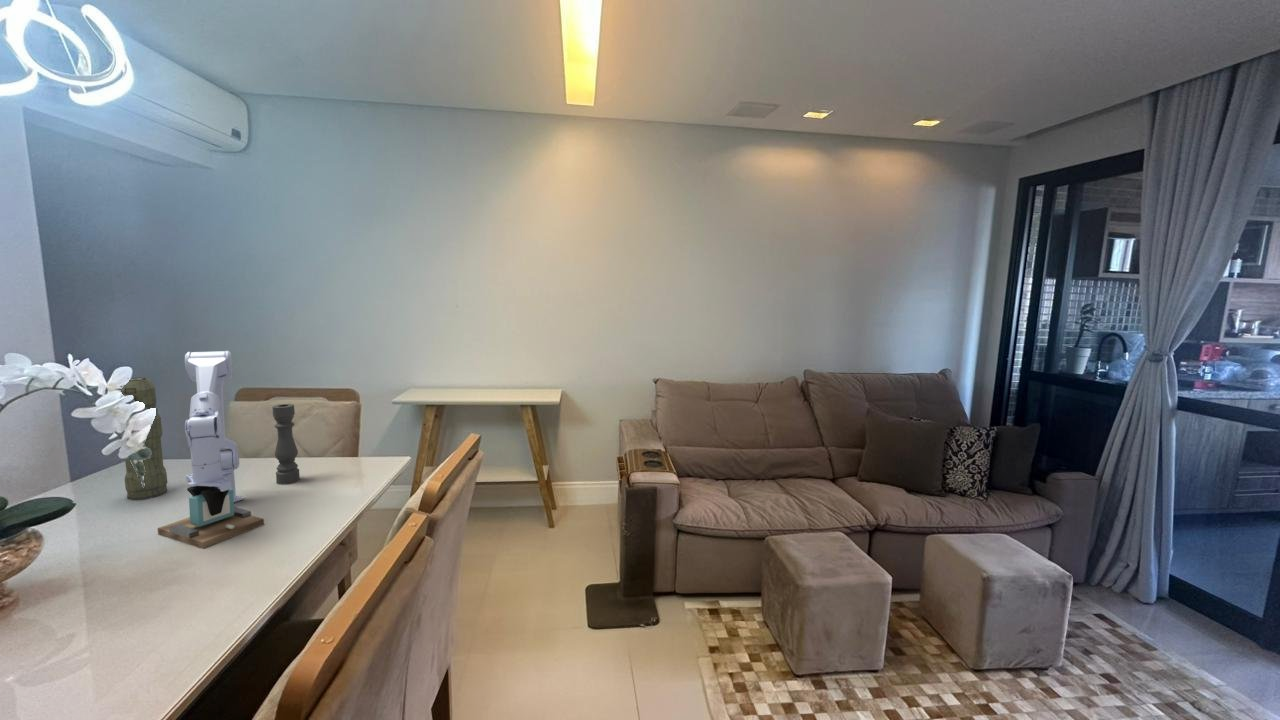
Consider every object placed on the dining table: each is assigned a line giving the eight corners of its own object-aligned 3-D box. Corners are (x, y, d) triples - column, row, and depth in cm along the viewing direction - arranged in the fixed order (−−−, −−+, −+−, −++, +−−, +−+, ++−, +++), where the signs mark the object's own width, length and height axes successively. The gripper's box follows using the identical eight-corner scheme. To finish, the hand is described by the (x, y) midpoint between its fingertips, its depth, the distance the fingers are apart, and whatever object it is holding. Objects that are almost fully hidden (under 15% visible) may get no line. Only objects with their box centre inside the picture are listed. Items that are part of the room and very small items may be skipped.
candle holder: (303, 480, 165) (298, 405, 162) (281, 485, 160) (276, 408, 156) (294, 476, 168) (289, 402, 165) (273, 481, 163) (267, 406, 160)
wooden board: (158, 533, 127) (157, 523, 127) (220, 511, 140) (219, 502, 140) (203, 548, 121) (202, 537, 121) (263, 524, 134) (263, 514, 134)
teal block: (190, 524, 128) (188, 497, 127) (225, 512, 135) (224, 487, 134) (199, 526, 126) (197, 499, 126) (234, 515, 134) (233, 489, 133)
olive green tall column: (120, 504, 143) (106, 383, 139) (133, 490, 153) (121, 376, 149) (162, 498, 148) (150, 381, 143) (172, 484, 158) (161, 374, 153)
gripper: (170, 462, 127) (175, 513, 129) (206, 471, 122) (211, 524, 124) (202, 454, 134) (206, 503, 136) (238, 462, 129) (242, 512, 131)
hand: (210, 512), depth 130 cm, fingers closed on teal block, 3 cm apart
